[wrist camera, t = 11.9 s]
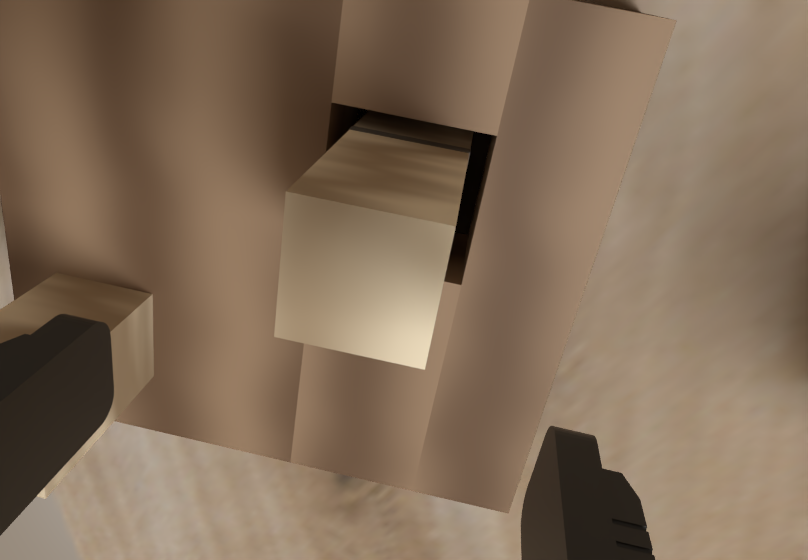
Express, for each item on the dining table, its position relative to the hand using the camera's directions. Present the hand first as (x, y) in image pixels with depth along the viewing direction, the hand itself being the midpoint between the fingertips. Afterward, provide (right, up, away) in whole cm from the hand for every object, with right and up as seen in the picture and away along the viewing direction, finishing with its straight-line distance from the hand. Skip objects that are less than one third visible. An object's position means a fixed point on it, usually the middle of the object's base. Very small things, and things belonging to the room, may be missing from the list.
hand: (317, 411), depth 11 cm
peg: (+2, +7, +15) cm, 17 cm away
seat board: (-2, +5, +16) cm, 17 cm away
